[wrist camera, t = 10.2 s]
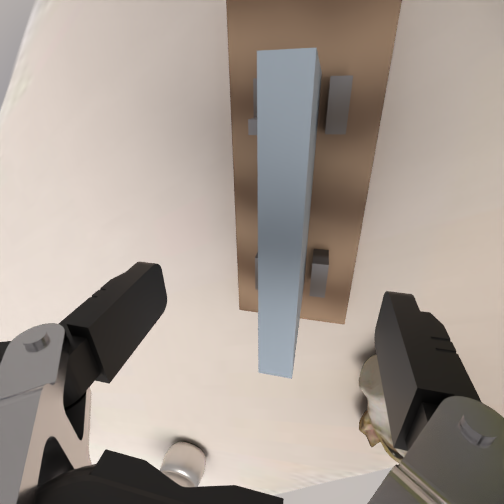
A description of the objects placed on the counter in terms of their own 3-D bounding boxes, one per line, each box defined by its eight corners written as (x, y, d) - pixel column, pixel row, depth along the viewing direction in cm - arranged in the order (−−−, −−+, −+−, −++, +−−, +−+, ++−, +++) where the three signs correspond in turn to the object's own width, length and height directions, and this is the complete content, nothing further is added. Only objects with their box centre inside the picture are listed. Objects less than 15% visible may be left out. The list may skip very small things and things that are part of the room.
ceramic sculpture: (501, 420, 19) (501, 520, 25) (452, 324, 26) (462, 421, 32) (336, 419, 23) (372, 507, 29) (334, 336, 30) (363, 421, 36)
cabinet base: (235, 4, 19) (211, -20, 15) (397, -10, 17) (418, -42, 13) (244, 297, 30) (232, 326, 26) (343, 310, 28) (345, 344, 24)
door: (280, 73, 19) (239, 51, 10) (321, 72, 18) (316, 47, 9) (274, 281, 26) (248, 370, 17) (303, 284, 26) (291, 378, 17)
